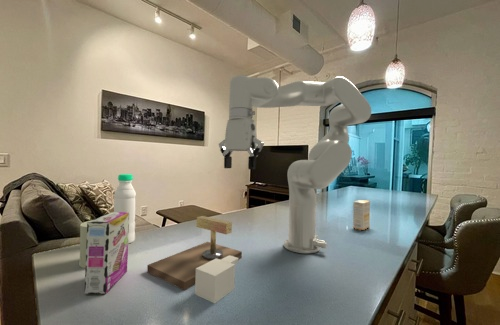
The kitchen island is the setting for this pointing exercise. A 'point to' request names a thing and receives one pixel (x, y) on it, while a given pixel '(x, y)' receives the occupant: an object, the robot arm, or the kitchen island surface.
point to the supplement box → (361, 214)
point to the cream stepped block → (216, 278)
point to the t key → (214, 234)
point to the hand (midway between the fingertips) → (239, 168)
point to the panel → (186, 265)
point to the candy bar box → (106, 252)
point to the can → (83, 244)
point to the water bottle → (126, 202)
